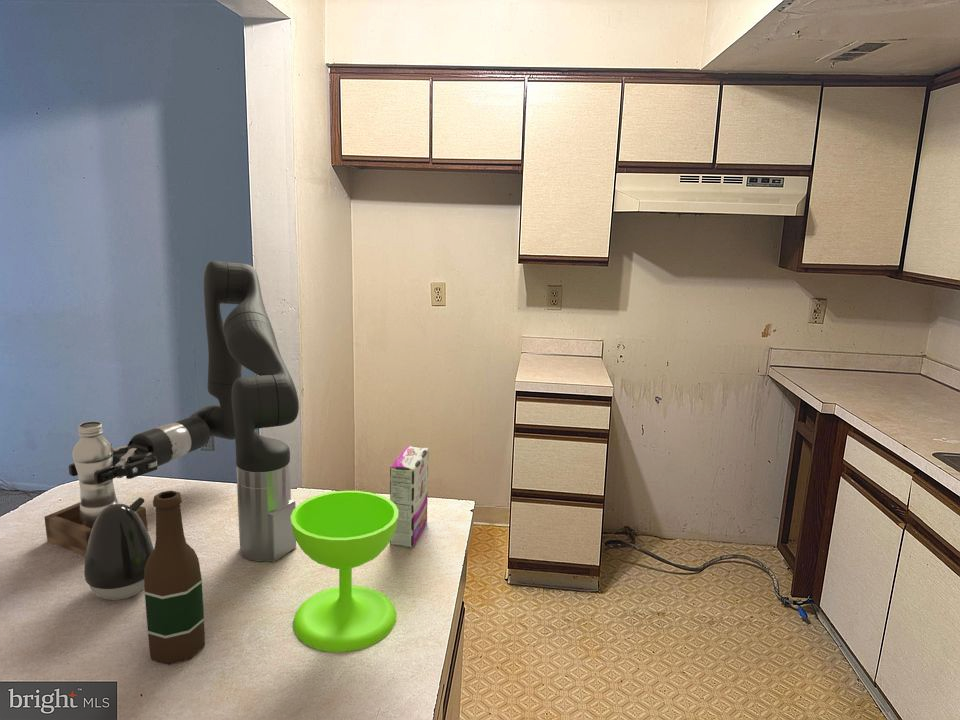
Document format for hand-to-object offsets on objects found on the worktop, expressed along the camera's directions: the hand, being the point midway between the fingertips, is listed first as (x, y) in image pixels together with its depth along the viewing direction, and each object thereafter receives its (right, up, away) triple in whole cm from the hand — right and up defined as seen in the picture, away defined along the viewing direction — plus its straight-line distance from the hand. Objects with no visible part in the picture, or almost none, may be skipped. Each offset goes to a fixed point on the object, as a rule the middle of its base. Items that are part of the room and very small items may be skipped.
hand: (83, 474), depth 117 cm
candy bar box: (+58, -14, +12) cm, 61 cm away
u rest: (0, -12, +5) cm, 13 cm away
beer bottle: (+28, -21, -24) cm, 43 cm away
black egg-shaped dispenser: (+13, -17, -11) cm, 24 cm away
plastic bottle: (0, -10, +5) cm, 11 cm away
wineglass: (+51, -20, -15) cm, 57 cm away
